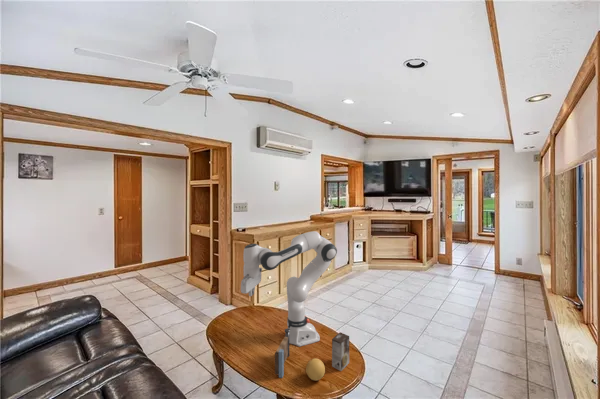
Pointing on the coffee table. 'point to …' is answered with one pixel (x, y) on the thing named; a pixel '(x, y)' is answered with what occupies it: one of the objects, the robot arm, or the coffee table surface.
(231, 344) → the coffee table surface
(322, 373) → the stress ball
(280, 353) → the post
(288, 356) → the hinge post
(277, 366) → the wooden gate panel
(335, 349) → the coffee box
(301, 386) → the coffee table surface
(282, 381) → the coffee table surface
